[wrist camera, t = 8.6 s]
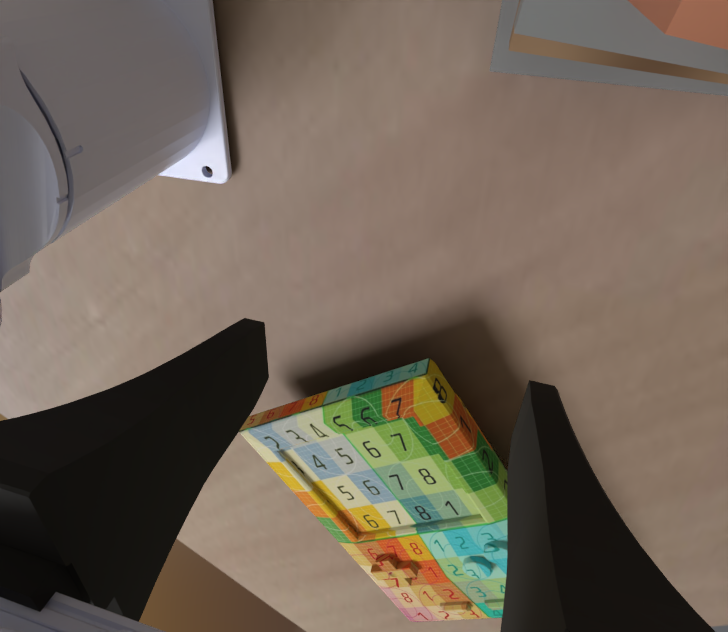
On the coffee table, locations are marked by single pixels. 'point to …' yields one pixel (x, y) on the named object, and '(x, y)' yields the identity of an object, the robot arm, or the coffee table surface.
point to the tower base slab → (581, 65)
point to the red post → (689, 19)
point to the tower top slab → (613, 31)
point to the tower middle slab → (607, 58)
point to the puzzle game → (399, 487)
